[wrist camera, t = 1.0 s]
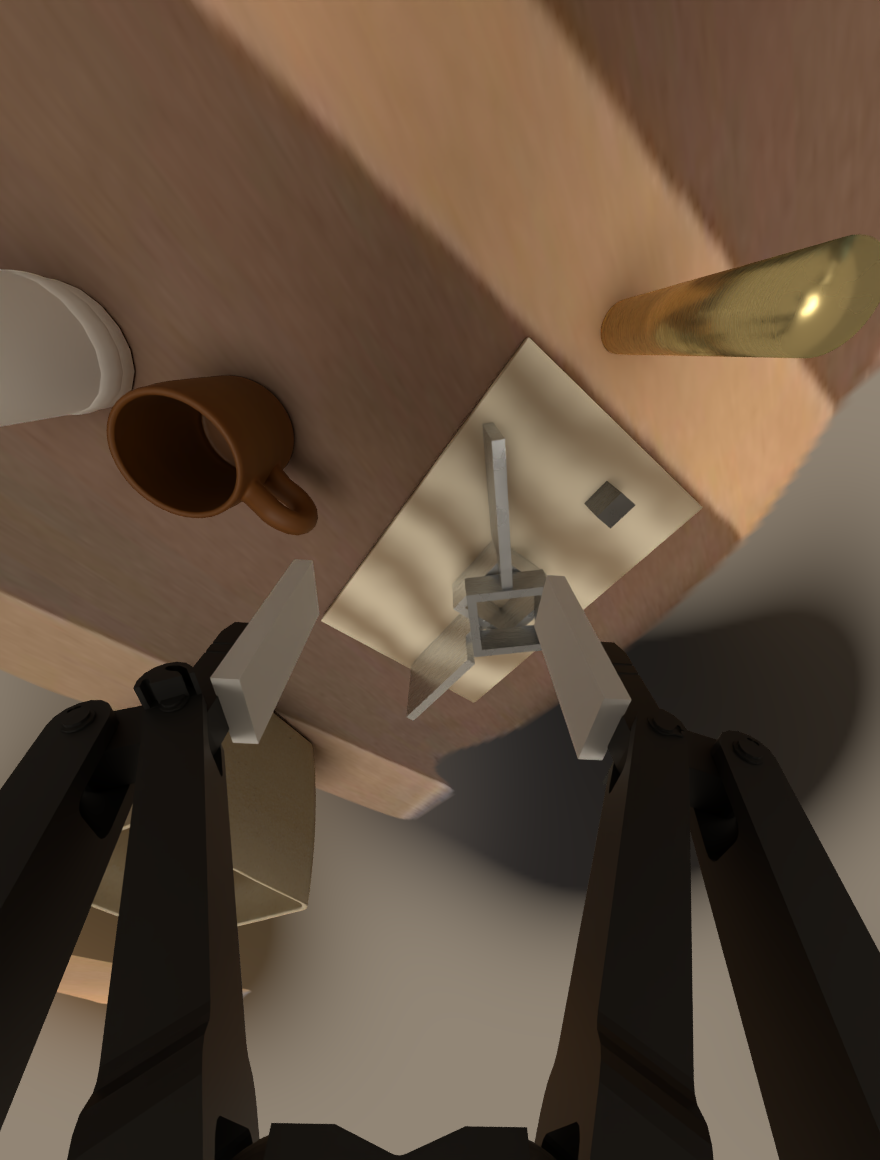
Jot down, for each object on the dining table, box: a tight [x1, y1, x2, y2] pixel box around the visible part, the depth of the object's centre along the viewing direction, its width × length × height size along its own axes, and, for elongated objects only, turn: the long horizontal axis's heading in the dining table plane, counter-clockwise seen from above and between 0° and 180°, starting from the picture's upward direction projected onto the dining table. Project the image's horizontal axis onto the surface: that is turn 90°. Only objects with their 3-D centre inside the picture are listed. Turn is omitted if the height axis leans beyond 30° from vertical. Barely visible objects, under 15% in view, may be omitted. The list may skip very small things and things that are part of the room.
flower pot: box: [91, 713, 316, 926], centre depth 42 cm, size 19×19×17 cm
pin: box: [601, 235, 880, 358], centre depth 19 cm, size 3×3×16 cm
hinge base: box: [406, 481, 635, 721], centre depth 33 cm, size 26×6×7 cm, turn 143°
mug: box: [107, 376, 318, 535], centre depth 26 cm, size 12×8×9 cm, turn 50°
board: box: [321, 337, 703, 703], centre depth 35 cm, size 30×20×1 cm, turn 143°
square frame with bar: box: [465, 422, 546, 657], centre depth 29 cm, size 17×6×6 cm, turn 8°
